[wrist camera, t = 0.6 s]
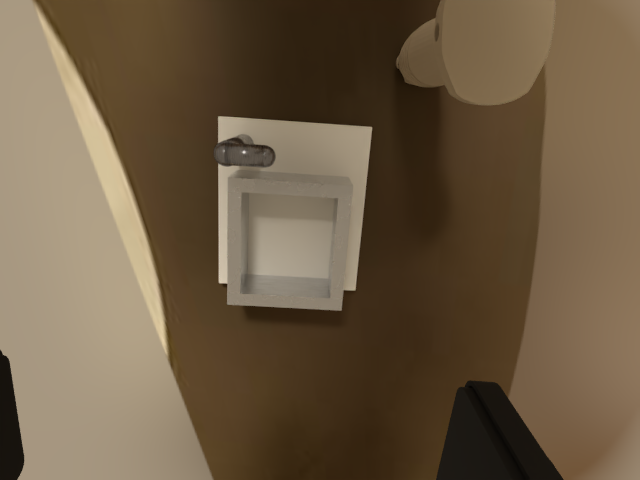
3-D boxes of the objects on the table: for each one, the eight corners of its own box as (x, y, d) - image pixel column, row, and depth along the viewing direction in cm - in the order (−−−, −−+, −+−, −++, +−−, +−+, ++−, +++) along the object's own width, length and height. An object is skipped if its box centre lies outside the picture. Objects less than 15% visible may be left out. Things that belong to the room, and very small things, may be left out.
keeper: (220, 116, 33) (190, 118, 25) (370, 126, 34) (389, 132, 25) (221, 278, 37) (195, 327, 29) (354, 286, 38) (366, 336, 30)
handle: (449, 15, 31) (564, -63, 17) (444, 105, 33) (544, 103, 19) (385, 17, 31) (446, -58, 17) (384, 107, 33) (438, 107, 19)
